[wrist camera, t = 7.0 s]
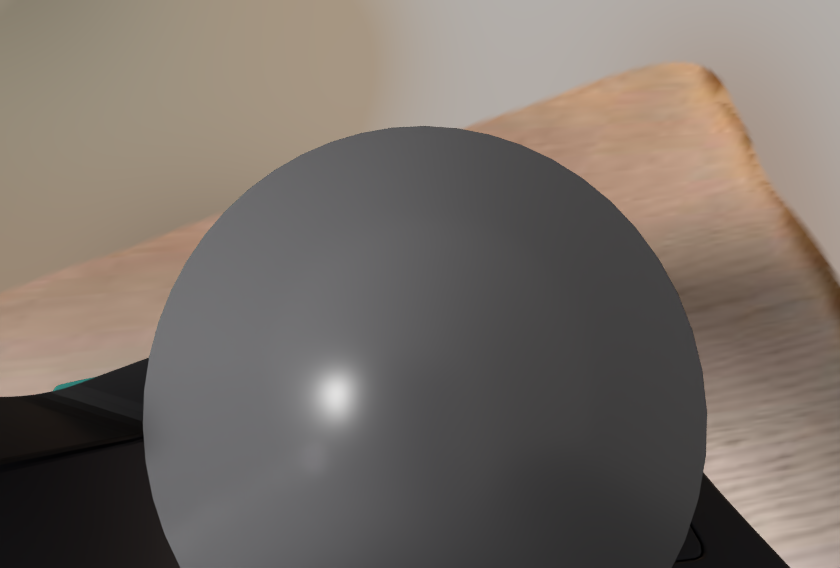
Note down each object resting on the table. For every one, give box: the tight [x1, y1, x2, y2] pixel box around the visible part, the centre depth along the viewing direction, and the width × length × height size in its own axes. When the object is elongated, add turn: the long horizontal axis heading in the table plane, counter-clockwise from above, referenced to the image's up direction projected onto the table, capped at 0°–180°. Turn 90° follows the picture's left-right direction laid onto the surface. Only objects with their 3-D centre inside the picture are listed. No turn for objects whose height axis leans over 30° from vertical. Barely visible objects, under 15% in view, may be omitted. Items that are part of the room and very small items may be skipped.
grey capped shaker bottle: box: [143, 126, 707, 568], centre depth 9 cm, size 4×4×12 cm
